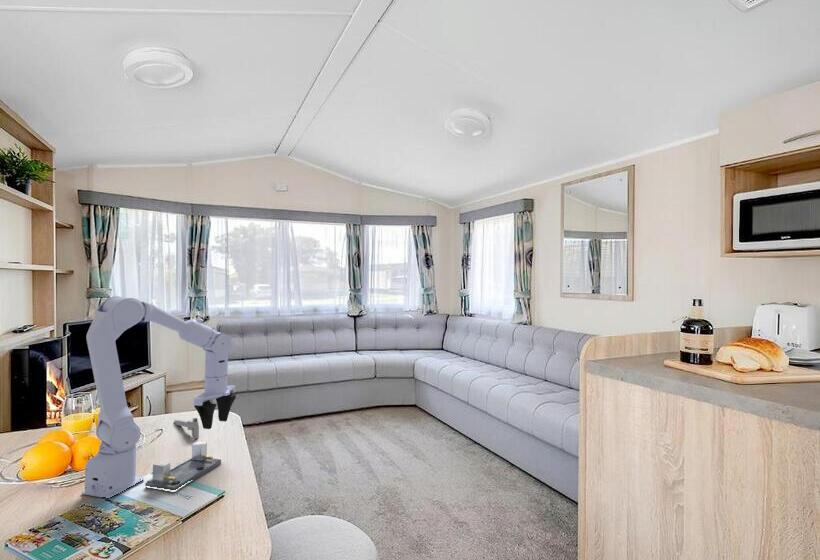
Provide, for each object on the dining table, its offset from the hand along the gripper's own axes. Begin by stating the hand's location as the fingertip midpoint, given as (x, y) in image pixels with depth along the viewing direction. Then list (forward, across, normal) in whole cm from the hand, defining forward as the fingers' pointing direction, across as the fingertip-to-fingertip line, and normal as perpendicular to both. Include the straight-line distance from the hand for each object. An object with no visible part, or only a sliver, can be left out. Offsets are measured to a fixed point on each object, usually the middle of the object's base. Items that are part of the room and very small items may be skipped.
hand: (215, 424), depth 120 cm
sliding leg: (+7, -6, -1) cm, 9 cm away
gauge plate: (+8, -12, -2) cm, 15 cm away
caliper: (+9, +14, +22) cm, 27 cm away
